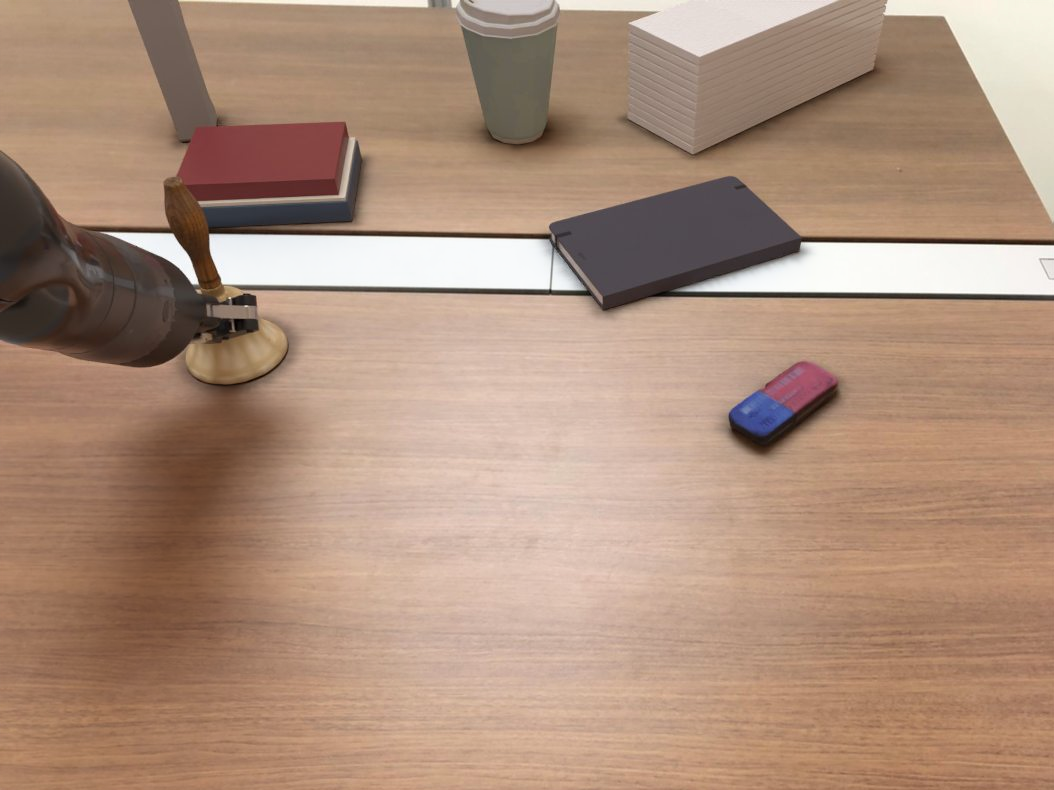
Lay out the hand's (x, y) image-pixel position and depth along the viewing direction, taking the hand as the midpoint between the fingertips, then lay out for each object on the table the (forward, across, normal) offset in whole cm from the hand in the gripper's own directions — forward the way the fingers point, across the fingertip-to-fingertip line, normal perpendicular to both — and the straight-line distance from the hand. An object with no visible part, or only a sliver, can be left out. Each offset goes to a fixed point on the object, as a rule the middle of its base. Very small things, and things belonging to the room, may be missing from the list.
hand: (211, 330), depth 74 cm
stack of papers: (+36, -54, -29) cm, 71 cm away
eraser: (-3, -45, +9) cm, 46 cm away
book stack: (+23, 0, -16) cm, 28 cm away
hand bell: (+5, 0, +2) cm, 6 cm away
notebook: (+14, -39, -8) cm, 42 cm away
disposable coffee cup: (+31, -25, -24) cm, 46 cm away
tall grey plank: (+33, +10, -26) cm, 43 cm away
